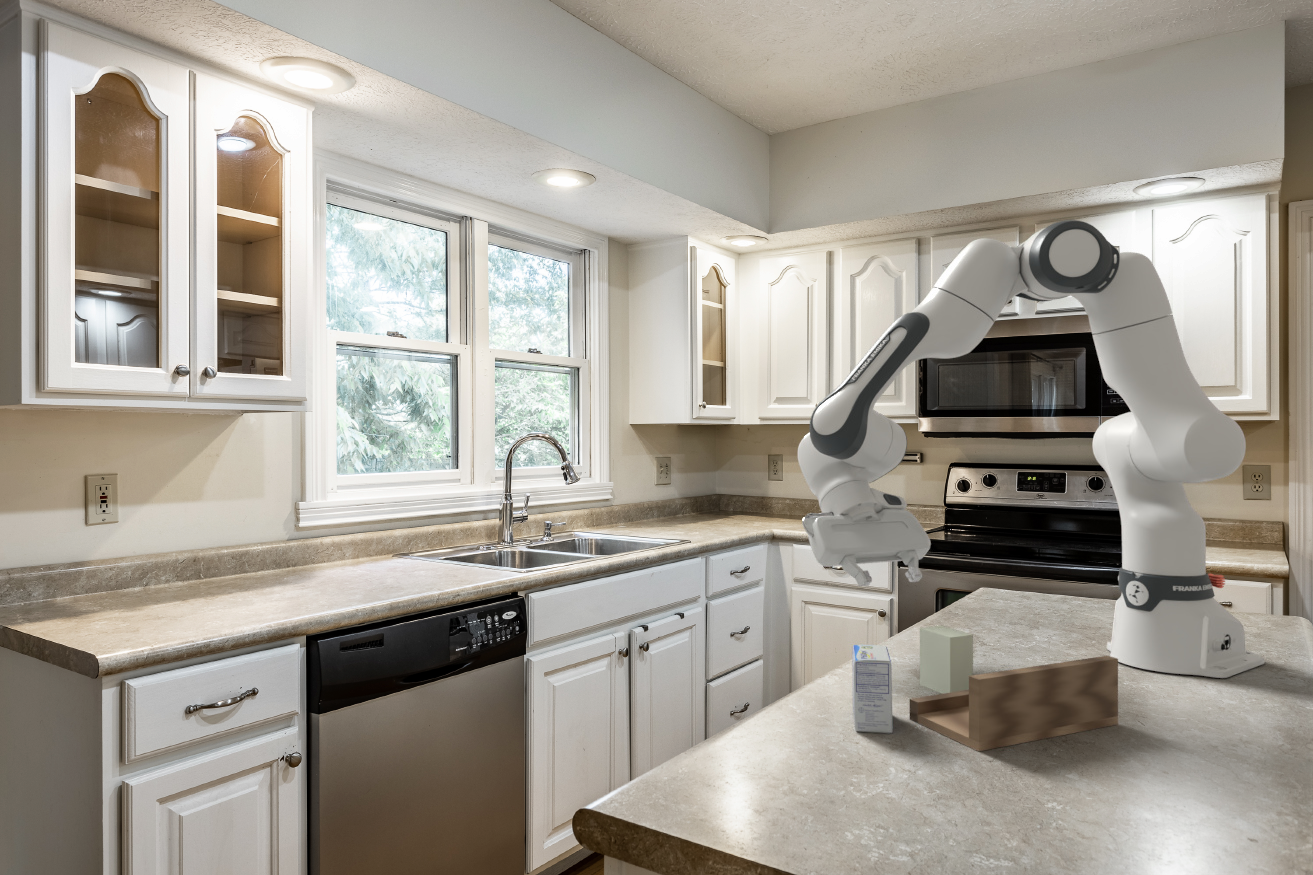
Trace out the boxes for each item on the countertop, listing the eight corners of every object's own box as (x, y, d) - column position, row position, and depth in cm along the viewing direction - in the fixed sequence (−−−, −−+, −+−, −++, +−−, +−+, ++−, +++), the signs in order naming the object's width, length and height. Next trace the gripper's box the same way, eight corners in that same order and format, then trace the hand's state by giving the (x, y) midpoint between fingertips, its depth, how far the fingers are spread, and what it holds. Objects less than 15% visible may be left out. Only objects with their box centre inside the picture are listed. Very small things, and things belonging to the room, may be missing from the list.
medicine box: (892, 735, 98) (892, 661, 98) (853, 732, 99) (853, 659, 99) (887, 713, 105) (887, 644, 105) (851, 710, 106) (851, 643, 106)
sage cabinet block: (942, 681, 119) (941, 625, 119) (973, 693, 113) (972, 634, 113) (919, 684, 117) (919, 627, 117) (950, 696, 112) (950, 637, 112)
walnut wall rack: (1040, 696, 112) (1040, 637, 112) (1118, 724, 101) (1118, 658, 101) (909, 718, 103) (909, 654, 103) (978, 751, 92) (978, 679, 92)
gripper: (806, 501, 129) (843, 573, 120) (911, 497, 137) (954, 564, 128) (790, 527, 133) (825, 599, 124) (894, 521, 141) (934, 588, 132)
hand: (891, 581), depth 126 cm, fingers open, 8 cm apart
